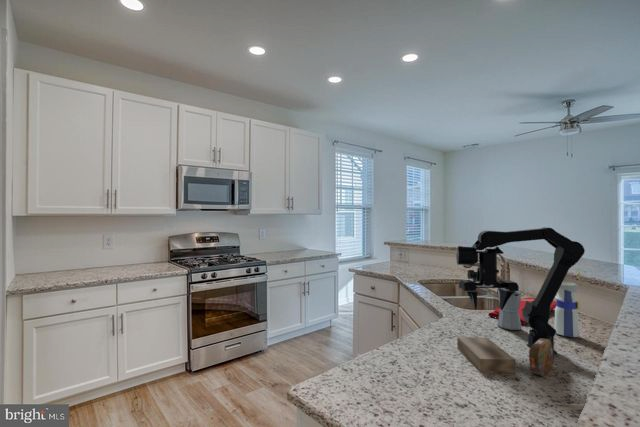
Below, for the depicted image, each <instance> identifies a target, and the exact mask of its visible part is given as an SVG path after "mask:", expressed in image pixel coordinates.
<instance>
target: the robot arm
mask: <svg viewBox="0 0 640 427" xmlns="http://www.w3.org/2000/svg"><path fill="white" fill-rule="evenodd" d="M539 240H544V241H546V242H547V243H548V244H549V245H550V246H552V247H553V248H554V253H553V264H552V266H551V267H550V270H549V271H548V274H547V275H546V277H545V280H544V281H543V284H542V285H541V287H540V289H539V291H538V294H537V295H536V297H535V298H536V299H535V300H534V301H532V302H531V303H530V302H529V301H526V304H525V307H524V308H523V309H522V311H523V314H522V316H523V319H524V320H525V321H526V322H527V323H526V324H528V326H529V328H530V329H529V330H528V331H529V334H528V336H527V344H526V346H527V347H528V348H529V349H530V347H531V346H532V345H533V344H534V343H535V342H536V341H537V340H538V339H540V338H544V339H550V340H551V341H552V343H553V348H554V354H558V352H557V350H555V346H554V345H555V343H554V342H555V340H554V339H555V336H556V334H557V333H556V330H555V329H554V328H555V327H553V326H552V325H551V324H550V323H549V321H550V317H551V311H550V306H551V304H552V302H553V301H554V300H555V299H556V298H555V297H556V296H557V292H558V290H559V288H560V286H561V284H562V282H564V280H565V278H566V276H567V274H568V273H569V270H570V269H571V268H572V267H573V266H574V265H576V264H577V263H578V262H579V261H580V260H581V259H582V257H583V256H584V254H585V251H586V250H585V248H584V245H583V244H582V243H580V242H579V241H575V240H571V238H568V237H566V236H564V235H563V234H561V233H559V232H557V231H556V230H555V229H554V228H551V227H546V226H545V227H540V228H532V229H531V228H530V229H521V230H511V231H497V230H483V231H480V232H479V234H478V236H477V240H476V241H475V243H474V244H472V246H462V245H458V246H457V250H456V254H455V255H456V264H457V265H458V266H460V265H461V266H475V265H476V264H477V263H478V266H477V269H476V271H475V270H474V269H469V270H468V269H467V279H460V280H459V281H458V288H459V289H461V290H463V292H466V293H467V295H468V297H469V299H470V302H471V305H472V307H473V310H475V311H476V310H477V308H478V291H476V290H477V289H497V290H498V289H499V292H500V303H499V307H500V309H501V310H503V308H504V306H505V305H506V303H507V301H508V299H509V298H510V296H511V295H512V294H513V293H515V292H514V291H519V289H520V288H519V284H518V283H517V282H515V281H513V280H508V279H506V280H505V279H502V280H501V279H500V280H498V274H499V273H500V269H498V255H503V254H504V251H503V250H501V248H500V247H499V246H503V245H505V244H508V243H509V244H510V243H519V242H527V241H528V242H529V241H539Z"/></svg>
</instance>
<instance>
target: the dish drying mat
mask: <svg viewBox="0 0 640 427" xmlns="http://www.w3.org/2000/svg"><path fill="white" fill-rule="evenodd" d="M535 299H536V297H524V298H521V300H520V307H519V309H518V311H519V315H520V321H521V325H526V324H528V323H527V322H526V321H525V320H524V319H523V316H522V314H523V311H522V309H523V308H524V307H525V304H526V301H529V302H530V303H531V302H532V301H534V300H535ZM556 306H557V301H556V300H555V301H554V300H553V302H552V304H551V306H550V312H551V311H553V310H555V308H556ZM499 313H500V306H499V307H497V308H494V310H493V311H491V312H488V316H489V317H490V316H492V317H496V318H499ZM492 317H491V318H492ZM496 318H495V319H496Z"/></svg>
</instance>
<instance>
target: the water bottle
mask: <svg viewBox="0 0 640 427" xmlns="http://www.w3.org/2000/svg"><path fill="white" fill-rule="evenodd" d="M580 275H581V273H580V270H579V269H578V270H577V278H578V280H579V279H581V276H580ZM578 288H580V286H579V285H578V284H577V283H575V282H571V281H563V282H562V284H561V286H560V288H559V290H558V292H557V294H556V296H555V298H554V299H555V300H556V302H557V306H556V308H554V327H553V328H554V329H555V330H556V333H555V334H556V335H557V334H558V335H560V336H563V337H570V338H571V337H572V338H578V337H580V328H579V311H578V310H579V308H580V302H579V300H578V298H577V295H576V294H578Z"/></svg>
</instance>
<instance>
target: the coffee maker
mask: <svg viewBox="0 0 640 427" xmlns="http://www.w3.org/2000/svg"><path fill="white" fill-rule="evenodd" d="M514 292H515V293H513V294H512V295H511V296H510V298H509V299H508V301H507V303H506V305H505V306H504V308H503V310H501V309H500V313H499V319H497V324H496V325H497V326H498V327H499V328H500V329H505V330H510V331H520V330H521V329H523V327H522V324H521V321H520V315H519V311H518V309H519V307H520V300H521V299H522V292H521V291H514ZM496 295H497V298H498V301H499V302H498V303H499V304H500V292H499V289H498V288H497V290H496Z"/></svg>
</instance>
